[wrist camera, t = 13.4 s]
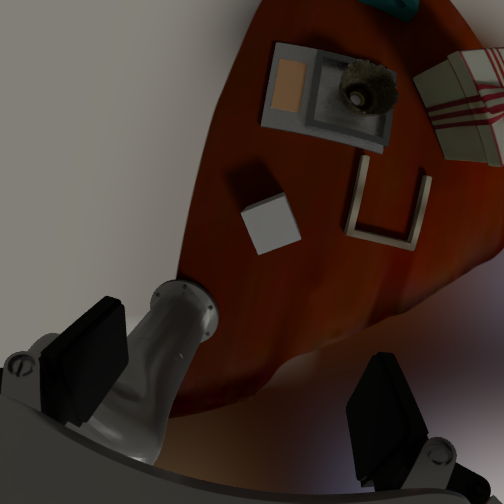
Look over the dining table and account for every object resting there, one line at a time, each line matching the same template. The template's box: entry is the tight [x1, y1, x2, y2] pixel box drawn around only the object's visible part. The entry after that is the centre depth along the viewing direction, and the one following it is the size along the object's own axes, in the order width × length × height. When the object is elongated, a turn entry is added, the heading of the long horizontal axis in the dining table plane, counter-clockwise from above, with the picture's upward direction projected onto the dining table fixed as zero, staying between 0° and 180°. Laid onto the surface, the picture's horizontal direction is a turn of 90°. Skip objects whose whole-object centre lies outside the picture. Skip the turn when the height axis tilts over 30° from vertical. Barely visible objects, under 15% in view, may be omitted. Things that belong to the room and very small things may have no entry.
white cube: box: [241, 192, 301, 255], centre depth 39 cm, size 6×6×6 cm
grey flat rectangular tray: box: [261, 42, 397, 154], centre depth 33 cm, size 14×18×3 cm
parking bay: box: [344, 155, 432, 251], centre depth 38 cm, size 12×12×2 cm
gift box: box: [413, 47, 504, 167], centre depth 24 cm, size 17×18×17 cm
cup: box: [339, 59, 399, 117], centre depth 30 cm, size 8×7×8 cm
